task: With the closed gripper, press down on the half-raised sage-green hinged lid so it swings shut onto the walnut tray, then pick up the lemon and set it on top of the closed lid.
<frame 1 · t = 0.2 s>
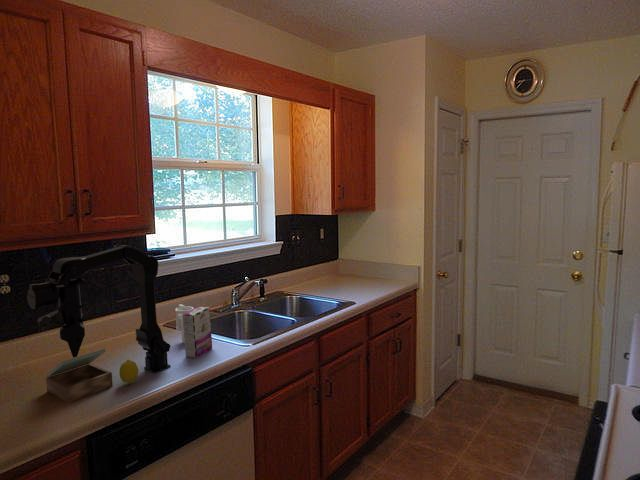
hand: (74, 352, 141), 14 cm above the worktop, tool pointing down, fingers open, 9 cm apart
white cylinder: (186, 342, 190), on the worktop
tray: (80, 388, 147), on the worktop
candy bar box: (198, 353, 178), on the worktop
lid: (76, 362, 147), point 8 cm above the worktop, hinge at 30.0°
lemon: (129, 384, 151), on the worktop
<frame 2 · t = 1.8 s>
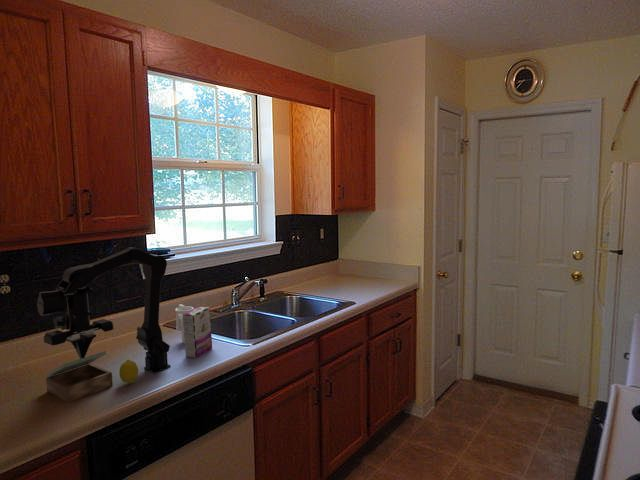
hand: (82, 358, 145), 10 cm above the worktop, tool pointing down, fingers closed, pressing on lid
lid: (76, 363, 147), point 8 cm above the worktop, hinge at 26.3°, touching gripper
everything else where it was.
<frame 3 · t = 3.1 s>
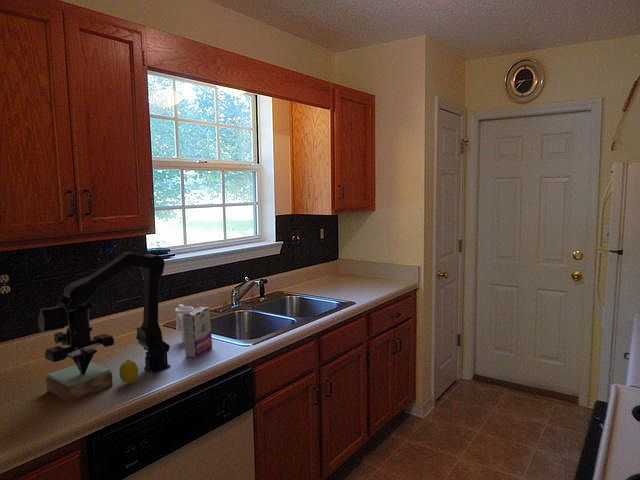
hand: (83, 374, 145), 6 cm above the worktop, tool pointing down, fingers closed, pressing on lid
lid: (79, 373, 147), point 5 cm above the worktop, hinge at 0.1°, touching gripper
everything else where it was.
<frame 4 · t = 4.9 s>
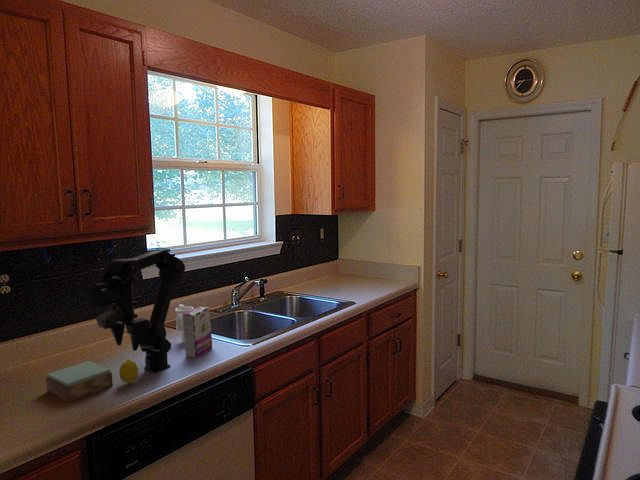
hand: (127, 347, 149), 12 cm above the worktop, tool pointing down, fingers open, 9 cm apart
lid: (79, 373, 147), point 5 cm above the worktop, hinge at 0.1°
everything else where it was.
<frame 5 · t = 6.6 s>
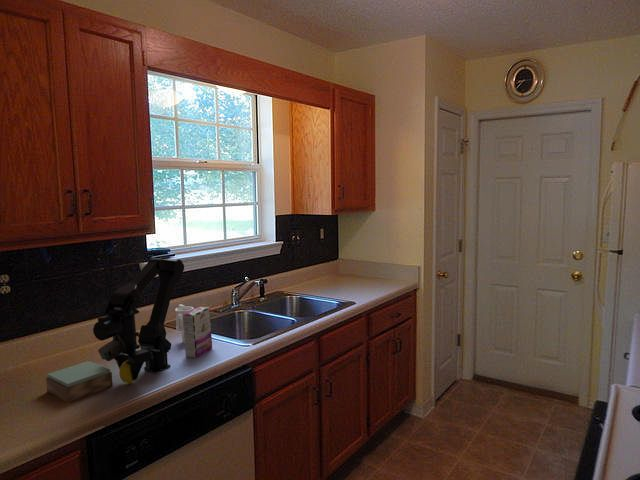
hand: (129, 377, 150), 2 cm above the worktop, tool pointing down, fingers closed on lemon, 5 cm apart
lemon: (129, 384, 151), on the worktop, touching gripper
everything else where it was.
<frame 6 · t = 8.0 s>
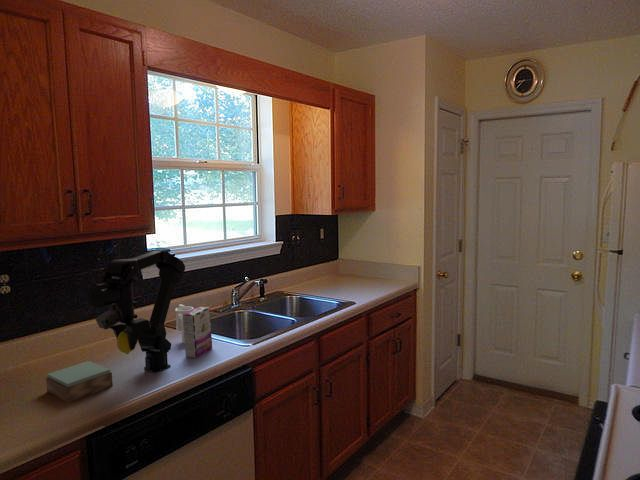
hand: (126, 347, 149), 12 cm above the worktop, tool pointing down, fingers closed on lemon, 5 cm apart
lemon: (127, 354, 149), point 10 cm above the worktop, touching gripper
everything else where it was.
when the fingers open (9 cm above the worktop, at t = 9.9 s): lemon drops 1 cm, resting on lid.
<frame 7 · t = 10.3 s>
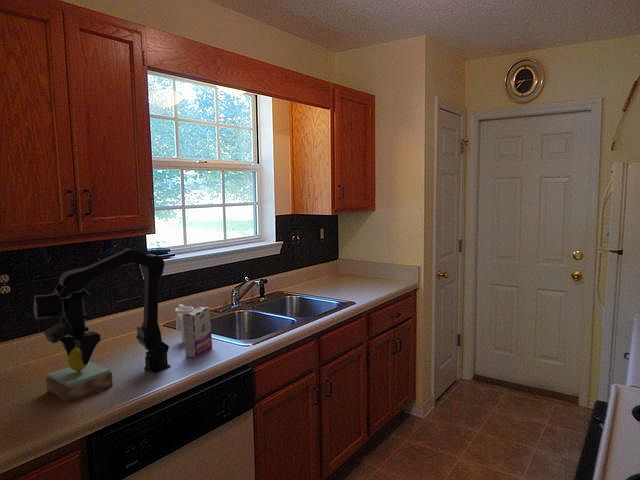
hand: (78, 361, 146), 9 cm above the worktop, tool pointing down, fingers open, 9 cm apart
lid: (79, 373, 147), point 5 cm above the worktop, hinge at -0.4°, touching lemon
lemon: (79, 372, 147), point 5 cm above the worktop, touching lid
everything else where it was.
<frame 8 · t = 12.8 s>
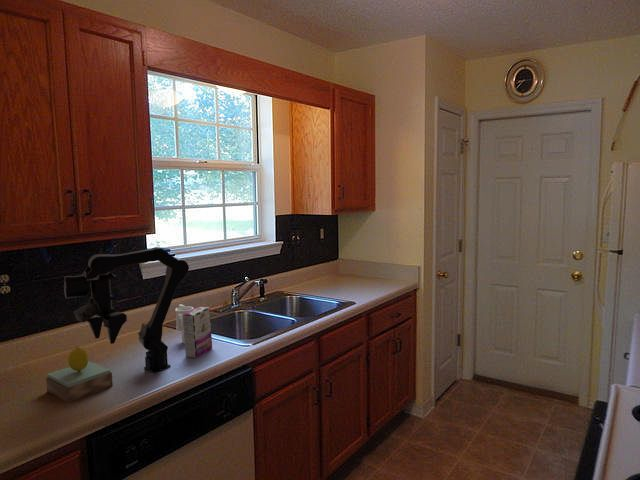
hand: (104, 340, 153), 13 cm above the worktop, tool pointing down, fingers open, 9 cm apart
nothing on the worktop moved.
at the end: lid at +0° (first picture: +30°); lemon touching lid; the gripper is holding nothing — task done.
